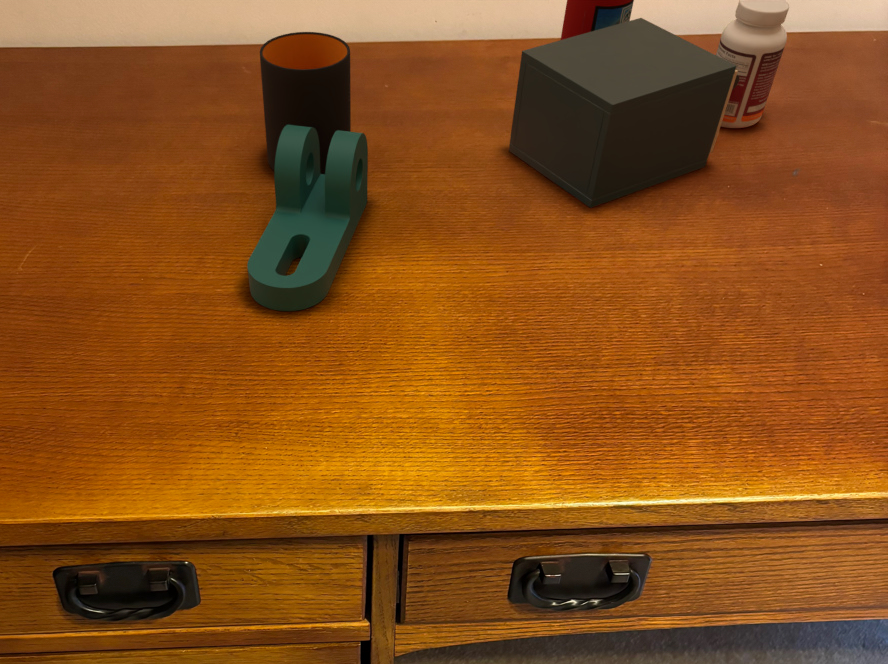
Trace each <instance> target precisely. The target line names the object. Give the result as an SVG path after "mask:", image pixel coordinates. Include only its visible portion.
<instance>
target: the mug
mask: <svg viewBox="0 0 888 664" xmlns="http://www.w3.org/2000/svg"><path fill="white" fill-rule="evenodd" d="M259 64H260V76H261V90H262V103H263V116H264V127H265V129H264V131H265V141H266V143H265V144H266V155H267V163H268V166H269V167H270V168H271V170H272V171H274V170H275V158H276V151H277V145H278V141H279V138H280V135H281V132H282V130H283V128H284V127H285V126H286V125H295V126H304V127H313V128H315V129H316V131H317V134H318V138H319V147H320V174H325V171H326V162H327V156H328V151H329V147H330V143H331V140H332V137H333V135H334V133H335V132H336V131H337V130H340V131H349V132H352V130H351V129H352V127H351V125H352V123H351V120H352V119H351V118H352V117H351V116H352V115H351V112H352V111H351V110H352V109H351V108H352V107H351V106H352V103H351V102H352V101H351V100H352V99H351V93H352V92H351V49H350V46H349V44H348V43H347V42H346V41H345V40H343V39H342V38H340V37H338V36H335V35H331V34H328V33H324V32H317V31H295V32H289V33H284V34H280V35H278V36H275V37H273V38H271V39H269V40H267V41H266V42H264V43H263V44H262V46H261V47H260V49H259Z"/></svg>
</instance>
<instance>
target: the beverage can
mask: <svg viewBox="0 0 888 664" xmlns="http://www.w3.org/2000/svg"><path fill="white" fill-rule="evenodd" d="M634 2H635V0H566V4H565V10H564V16H563V22H562V29H561V35H560V40H563V39H567V38H570V37H574V36H577V35H581V34H585V33H588V32H592V31H595V30H599V29H603V28H606V27H610V26H613V25H617V24H621V23H624V22H628V21H631V20H630V19H631V16H632V11H633V7H634Z"/></svg>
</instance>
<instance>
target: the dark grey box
mask: <svg viewBox="0 0 888 664" xmlns="http://www.w3.org/2000/svg"><path fill="white" fill-rule="evenodd" d="M519 63H520V64H519V71H518V77H517V78H518V79H517V86H516V92H515V93H516V94H515V100H514V108H513V115H512V124H511V129H510V130H511V131H510V138H509V146H508V151H509V152H510V153H511V154H513V155H514V156H516V157H517V158H519V159H520V160H522V162H524V163H525V164H528V166H530V167H531V168H533V169H534V170H535V171H537V172H539V173H540V174H541V175H542V176H544V177H545V178H547V179H548V180H550V181H551V182H553V183H554V184H555V185H557V186H558V187H560V188H561V189H563V190H564V191H565V192H567V193H568V194H570V195H571V196H572V197H574V198H575V199H577V200H578V201H580V203H582V204H584V205H585V206H586V207H588V208H589V209H593V208H595V207H597V206H600V205H604V204H606V203H609V202H611V201H614V200H617V199H620V198H623V197H625V196H627V195H631V194H633V193H636V192H639V191H642V190H644V189H648V188H651V187H653V186H655V185H658V184H662V183H664V182H667V181H670V180H673V179H675V178H679V177H680V176H684V175H686V174H687V175H688V174H689V173H692V172H694V171H698V170H700V169H703V168H705V167H706V165H707V162H708V159H709V155H710V154H711V153H710V150H711V147H712V143H713V140H714V137H715V134H716V131H717V127H718V124H719V121H720V118H721V114H722V111H723V108H724V105H725V102H726V98H727V95H728V92H729V89H730V85H731V82H732V79H733V76H734V73H735V70H736V67H737V66H736V65H734V64H732V63H730V62H728V61H726V60H724V59H722V58H720V57H718V56H716V54H715V53H712V52H710V51H709V50H706V49H704V48H702V47H700V46H698V45H696V44H694V43H693V42H690V41H688V40H686V39H684V38H682V37H681V36H678V35H676V34H675V33H672V32H670V31H669V30H666V29H665V28H662V27H661V26H659V25H657V24H654V23H652V22H650V21H649V20H647V19H645V18H643V17H639V18H635V19H632V20H630V21H628V22H624V23H621V24H617V25H613V26H610V27H606V28H603V29H599V30H595V31H592V32H588V33H585V34H581V35H577V36H574V37H570V38H567V39H563V40H561V39H560V40H556V41H552V42H550V43H545V44H542V45H538V46H535V47H532V48H528V49H523V50H522V51H521V56H520V62H519Z"/></svg>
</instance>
